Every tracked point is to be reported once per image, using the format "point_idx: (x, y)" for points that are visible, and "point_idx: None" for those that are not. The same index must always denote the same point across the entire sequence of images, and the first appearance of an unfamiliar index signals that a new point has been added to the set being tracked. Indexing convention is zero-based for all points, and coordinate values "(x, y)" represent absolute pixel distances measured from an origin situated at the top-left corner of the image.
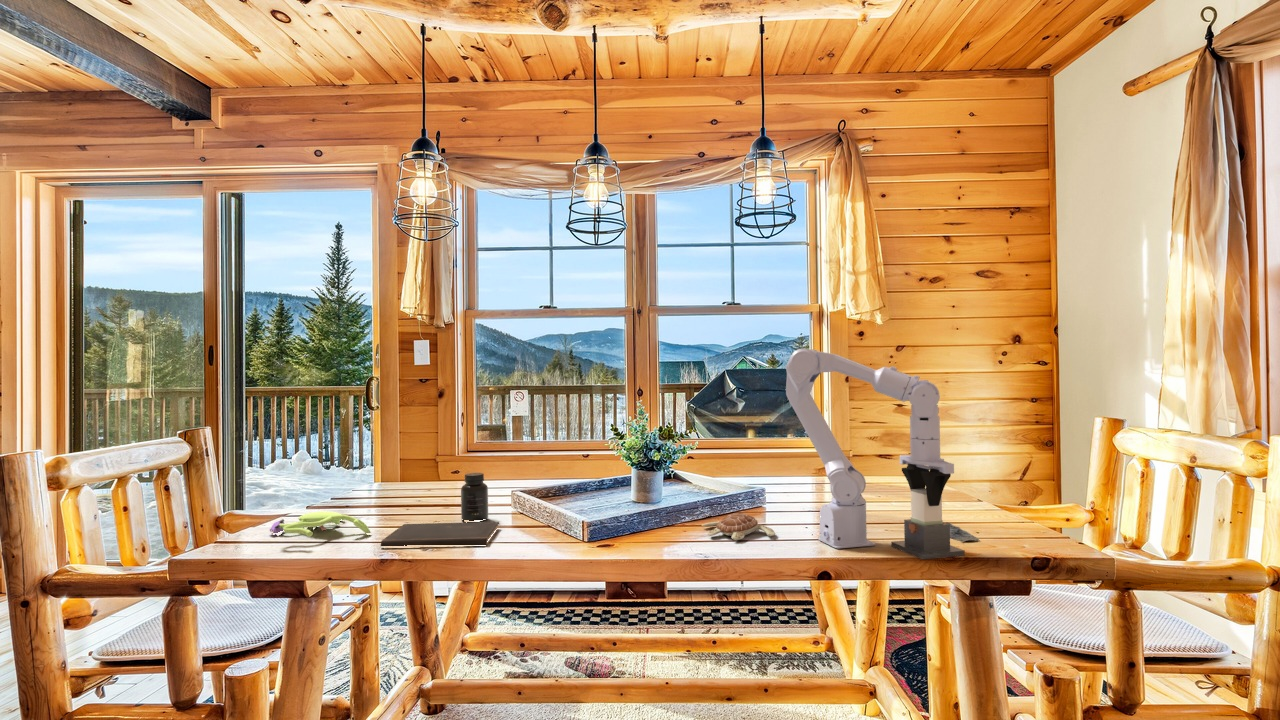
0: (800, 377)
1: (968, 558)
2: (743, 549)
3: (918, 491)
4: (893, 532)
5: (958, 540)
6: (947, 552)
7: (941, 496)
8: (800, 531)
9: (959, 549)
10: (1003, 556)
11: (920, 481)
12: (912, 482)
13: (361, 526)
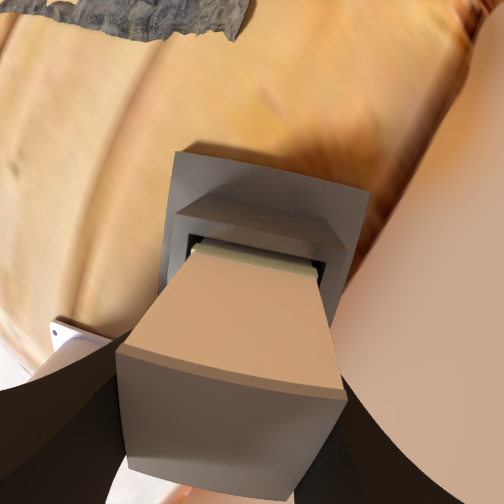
0: None
1: (391, 210)
2: (110, 492)
3: (217, 490)
4: (36, 168)
5: (205, 30)
6: (349, 268)
7: (338, 371)
8: (6, 367)
9: (351, 197)
10: (430, 86)
11: (84, 459)
12: (103, 497)
13: None
